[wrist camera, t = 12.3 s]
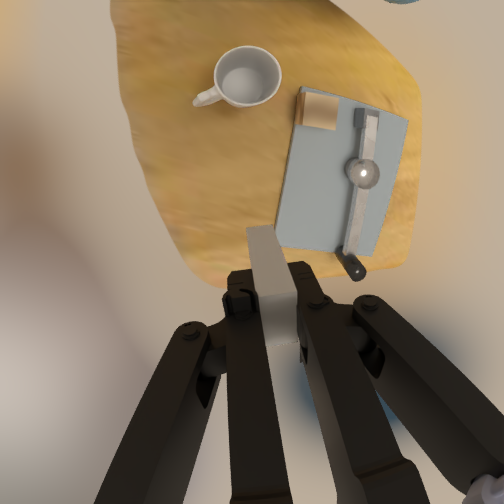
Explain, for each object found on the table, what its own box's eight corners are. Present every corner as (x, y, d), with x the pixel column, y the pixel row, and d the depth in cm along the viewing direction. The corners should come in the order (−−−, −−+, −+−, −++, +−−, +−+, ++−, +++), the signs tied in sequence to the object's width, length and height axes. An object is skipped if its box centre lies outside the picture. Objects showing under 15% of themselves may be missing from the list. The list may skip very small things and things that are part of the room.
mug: (254, 59, 32) (265, 36, 22) (274, 98, 35) (292, 91, 25) (189, 87, 34) (173, 75, 23) (209, 126, 37) (201, 130, 26)
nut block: (297, 94, 34) (306, 91, 30) (327, 99, 35) (339, 98, 31) (294, 124, 36) (302, 125, 32) (324, 128, 37) (335, 130, 33)
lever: (349, 106, 35) (372, 106, 28) (375, 112, 35) (401, 113, 29) (328, 258, 46) (343, 281, 40) (351, 258, 47) (369, 281, 40)
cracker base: (300, 87, 35) (305, 85, 32) (404, 119, 37) (414, 121, 35) (271, 242, 46) (274, 250, 43) (369, 253, 48) (376, 261, 46)
